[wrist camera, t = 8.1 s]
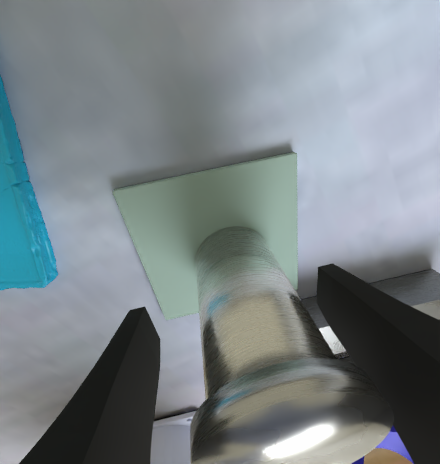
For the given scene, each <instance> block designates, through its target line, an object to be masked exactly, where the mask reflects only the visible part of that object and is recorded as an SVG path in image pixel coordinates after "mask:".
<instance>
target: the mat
mask: <svg viewBox="0 0 440 464" xmlns="http://www.w3.org/2000/svg"><path fill="white" fill-rule="evenodd" d="M112 193H113V195H114V197H115V200H116V202H117V205H118V207H119V209H120V212H121V214H122V217H123V219H124V221H125V224H126V226H127V228H128V231H129V233H130V236H131V238H132V240H133V243H134V245H135V247H136V250H137V252H138V255H139V257H140V259H141V262H142V264H143V267H144V269H145V271H146V274H147V276H148V278H149V281H150V283H151V286H152V288H153V290H154V293H155V295H156V298H157V300H158V302H159V305H160V307H161V309H162V312H163V314H164V317H165V319H166V320H169V319H174V318H178V317H182V316H187V315H191V314H195V313H199V304H198V291H197V278H196V265H195V257H196V253H197V250H198V248H199V246H200V244H201V243H202V242H203V241H204V240H205V239H206V238H207V237H208V236H209V235H210V234H212V233H214V232H215V231H217V230H220V229H222V228H226V227H231V226H242V227H247V228H250V229H252V230H255V231H256V232H258V233H259V234H260V235H261V236H262V237H263V238H264V239H265V241H266V243H267V244H268V246H269V248H270V249H271V251H272V253H273V254H274V256H275V258H276V259H277V261H278V263H279V264H280V266H281V267H282V269H283V271H284V272H285V274H286V276H287V277H288V279H289V281H290V282H291V284H292V286H293V287H294V289H295V290H298V260H297V153H295V152H291V153H286V154H282V155H277V156H272V157H267V158H262V159H257V160H253V161H248V162H243V163H238V164H233V165H229V166H224V167H219V168H214V169H209V170H205V171H200V172H195V173H190V174H185V175H181V176H176V177H171V178H166V179H161V180H157V181H152V182H147V183H142V184H137V185H132V186H128V187H123V188H118V189H114V190H113V192H112Z"/></svg>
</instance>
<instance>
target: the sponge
mask: <svg viewBox="0 0 440 464" xmlns="http://www.w3.org/2000/svg"><path fill="white" fill-rule="evenodd" d="M15 125H16V124H15V122H14V119H13V116H12V114H11V110H10V106H9V103H8V100H7V96H6V93H5V90H4V85H3V81H2V78H1V75H0V290H4V289H9V288H23V289H25V288H29V287H33V288H35V287H36V288H44V287H46V285H48V284H49V283H50V282H51V281H53V280H54V279H55V278H56V276H57V275H58V272H57V270H56V260H55V257H54V253H53V249H52V246H51V242H50V239H49V237H48V233H47V230H46V227H45V223H44V221H43V218H42V215H41V211H40V209H39V206H38V203H37V201H36V198H35V193H34V191H33V187H32V185H31V183H30V182H28V180H29V175H28V172H27V168H26V164H25V163H24V162H23V161H24V158H23V152H22V149H21V146H20V140H19V138H18V134H17V131H16V126H15Z"/></svg>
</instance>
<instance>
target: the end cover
mask: <svg viewBox="0 0 440 464" xmlns="http://www.w3.org/2000/svg"><path fill="white" fill-rule="evenodd" d="M195 265H196V278H197V291H198V304H199V317H200V330H201V343H202V356H203V369H204V382H205V395H206V401H204V402H203V404H202V405H201V406H200V407H199V408H198V410H197V411H196V413H195V415H194V416H193V418H192V421H191V425H190V459H191V464H352V463H353V462H355V461H357V460H359V459H360V458H362V457H363V456H365V455H366V454H368V453H369V452H370V451H372V450H373V449H374V448H375V447H376V446H378V445H379V444H380V443H381V442H382V441H383V440H384V439H385V437H386V436H387V435H388V433H389V432H390V430H391V428H392V426H393V422H394V413H393V411H392V409H391V407H390V406H389V404H388V403H387V402H386V400H385V399H384V397H383V396H382V394H381V393H380V391H379V390H378V388H377V387H376V386H375V384H374V383H373V381H372V380H371V378H370V377H369V375H368V374H367V373H366V372H365V371H364V370H363V369H361V368H360V367H358V366H357V365H354V364H352V363H350V362H346V361H342V360H337V358H336V357H335V355H334V353H333V352H332V350H331V348H330V347H329V345H328V343H327V342H326V340H325V338H324V337H323V335H322V334H321V332H320V330H319V329H318V327H317V325H316V324H315V322H314V320H313V319H312V317H311V315H310V314H309V312H308V310H307V309H306V307H305V305H304V304H303V302H302V300H301V299H300V297H299V296H298V294H297V292H296V291H295V289H294V287H293V286H292V284H291V282H290V281H289V279H288V277H287V276H286V274H285V272H284V271H283V269H282V267H281V266H280V264H279V263H278V261H277V259H276V258H275V256H274V254H273V253H272V251H271V249H270V248H269V246H268V244H267V243H266V241H265V239H264V238H263V237H262V236H261V235H260V234H259V233H258V232H256V231H255V230H252V229H250V228H247V227H242V226H231V227H226V228H222V229H220V230H217V231H215V232H214V233H212V234H210V235H209V236H208V237H207V238H206V239H205V240H204V241H203V242H202V243H201V244H200V246H199V248H198V250H197V253H196V257H195Z"/></svg>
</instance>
